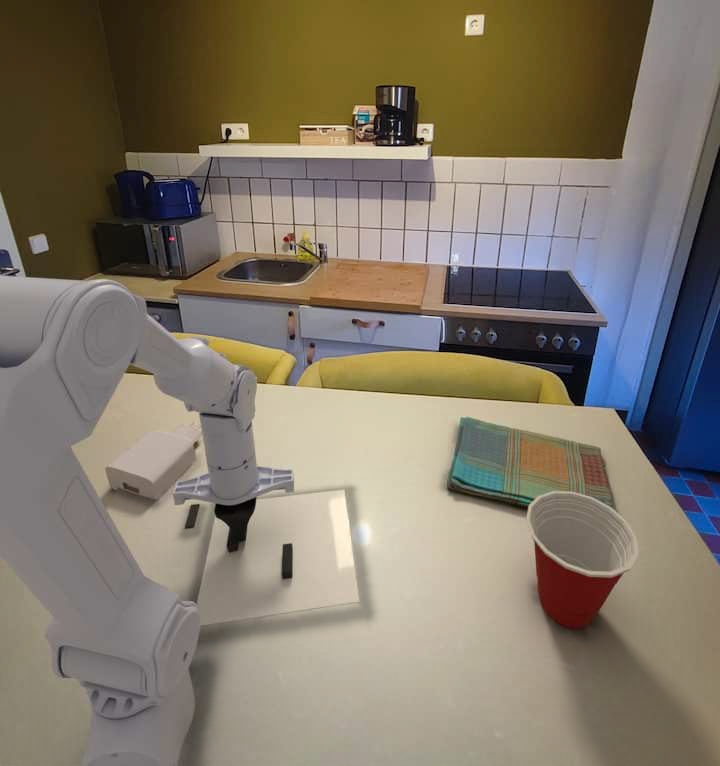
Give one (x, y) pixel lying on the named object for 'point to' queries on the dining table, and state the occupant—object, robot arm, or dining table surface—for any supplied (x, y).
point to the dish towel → (523, 465)
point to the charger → (155, 461)
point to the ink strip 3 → (287, 561)
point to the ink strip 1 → (192, 516)
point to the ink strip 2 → (232, 542)
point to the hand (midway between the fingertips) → (242, 534)
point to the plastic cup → (578, 554)
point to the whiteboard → (264, 560)
